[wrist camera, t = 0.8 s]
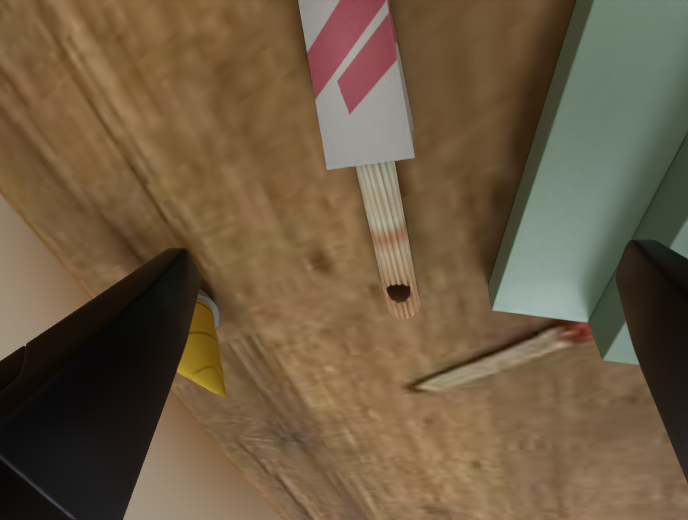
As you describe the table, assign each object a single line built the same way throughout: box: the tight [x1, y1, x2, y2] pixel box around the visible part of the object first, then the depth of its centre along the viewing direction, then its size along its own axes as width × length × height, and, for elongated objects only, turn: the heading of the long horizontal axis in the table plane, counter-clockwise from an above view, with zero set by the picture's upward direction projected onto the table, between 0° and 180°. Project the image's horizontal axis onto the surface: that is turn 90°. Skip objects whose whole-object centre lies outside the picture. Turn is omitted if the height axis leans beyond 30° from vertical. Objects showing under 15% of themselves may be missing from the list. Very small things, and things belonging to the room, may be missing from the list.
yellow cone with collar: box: [177, 289, 226, 398], centre depth 28 cm, size 5×5×10 cm
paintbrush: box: [298, 0, 420, 319], centre depth 21 cm, size 4×3×20 cm
